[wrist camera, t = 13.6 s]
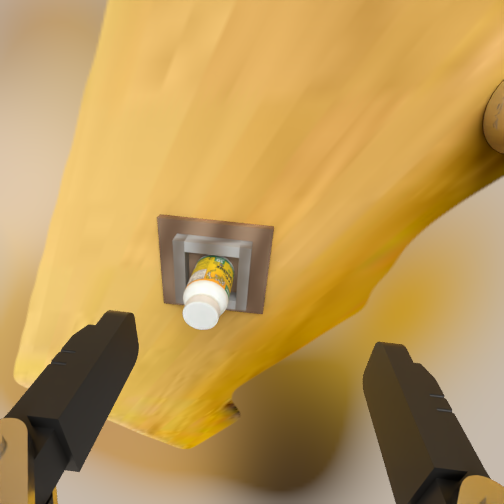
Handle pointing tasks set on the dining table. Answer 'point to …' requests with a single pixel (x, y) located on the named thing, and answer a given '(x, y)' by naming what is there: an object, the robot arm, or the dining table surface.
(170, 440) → the dining table surface
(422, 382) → the robot arm
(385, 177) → the dining table surface
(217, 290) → the supplement bottle
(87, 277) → the dining table surface
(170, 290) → the socket holder
